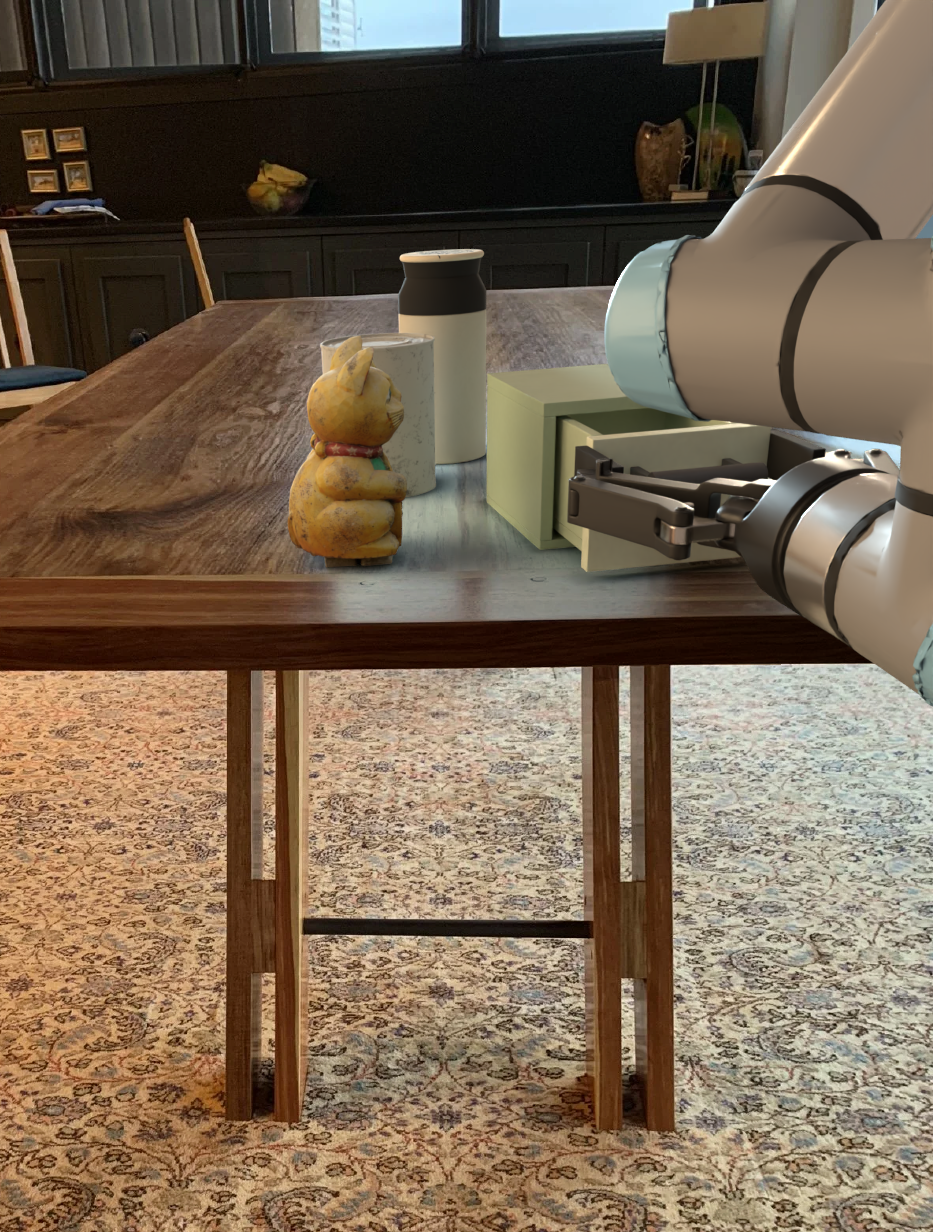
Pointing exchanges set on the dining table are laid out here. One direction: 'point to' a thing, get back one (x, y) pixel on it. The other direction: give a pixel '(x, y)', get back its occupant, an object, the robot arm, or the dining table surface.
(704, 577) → the dining table surface
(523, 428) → the cabinet
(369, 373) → the decorative figurine
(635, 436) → the drawer
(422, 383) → the white can
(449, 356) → the travel mug
